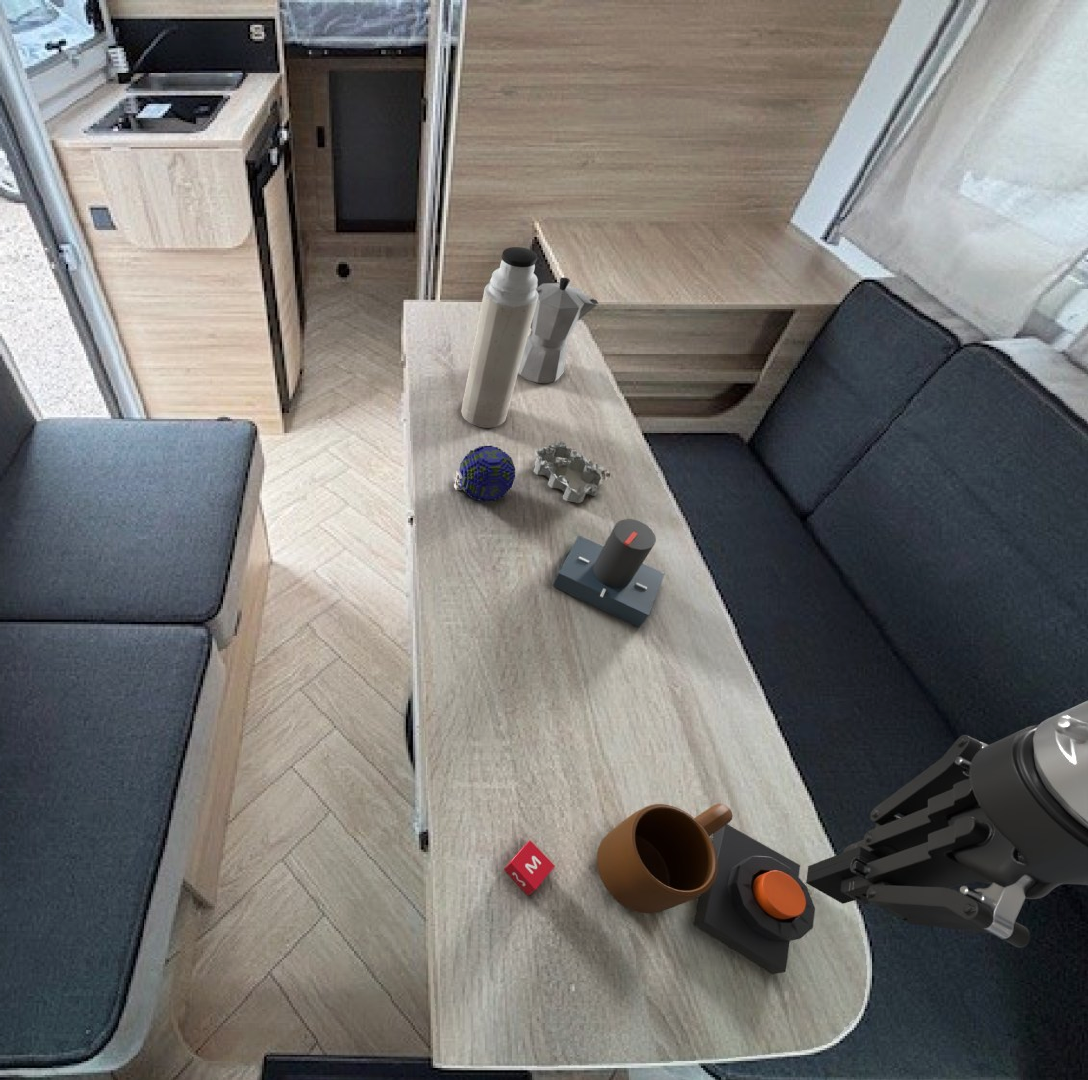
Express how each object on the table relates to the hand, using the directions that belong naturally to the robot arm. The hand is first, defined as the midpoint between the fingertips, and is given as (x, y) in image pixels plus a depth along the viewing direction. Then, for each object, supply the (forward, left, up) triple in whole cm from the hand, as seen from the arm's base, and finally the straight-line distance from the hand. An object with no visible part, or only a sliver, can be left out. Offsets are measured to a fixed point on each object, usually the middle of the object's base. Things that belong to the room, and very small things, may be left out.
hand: (825, 884), depth 48 cm
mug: (+10, +1, -11) cm, 15 cm away
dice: (+20, +9, -11) cm, 25 cm away
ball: (+46, -36, -11) cm, 60 cm away
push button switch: (+1, 0, -11) cm, 11 cm away
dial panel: (+24, -29, -11) cm, 40 cm away
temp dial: (+24, -29, -8) cm, 39 cm away
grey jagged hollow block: (+36, -46, -11) cm, 60 cm away
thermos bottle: (+54, -54, -11) cm, 77 cm away
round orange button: (0, 0, -7) cm, 7 cm away
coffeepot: (+52, -72, -11) cm, 90 cm away
